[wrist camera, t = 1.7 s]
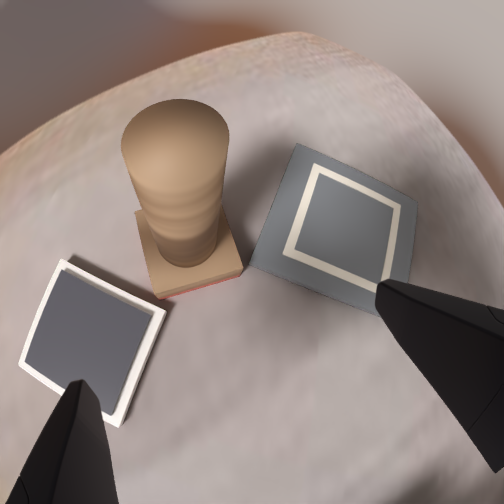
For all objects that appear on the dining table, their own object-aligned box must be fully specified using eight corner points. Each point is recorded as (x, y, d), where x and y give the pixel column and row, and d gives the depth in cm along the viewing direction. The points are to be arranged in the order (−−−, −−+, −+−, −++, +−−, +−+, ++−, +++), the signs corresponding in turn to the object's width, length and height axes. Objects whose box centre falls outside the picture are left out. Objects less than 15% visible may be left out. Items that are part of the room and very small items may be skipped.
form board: (414, 204, 27) (418, 201, 26) (395, 323, 23) (400, 322, 22) (295, 146, 27) (297, 142, 26) (248, 264, 23) (249, 261, 22)
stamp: (239, 276, 22) (281, 184, 10) (159, 300, 21) (104, 231, 9) (215, 204, 24) (229, 74, 12) (140, 224, 22) (93, 104, 10)
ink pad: (167, 312, 21) (164, 309, 19) (122, 424, 18) (117, 429, 16) (66, 262, 20) (58, 256, 19) (24, 365, 17) (15, 364, 16)
